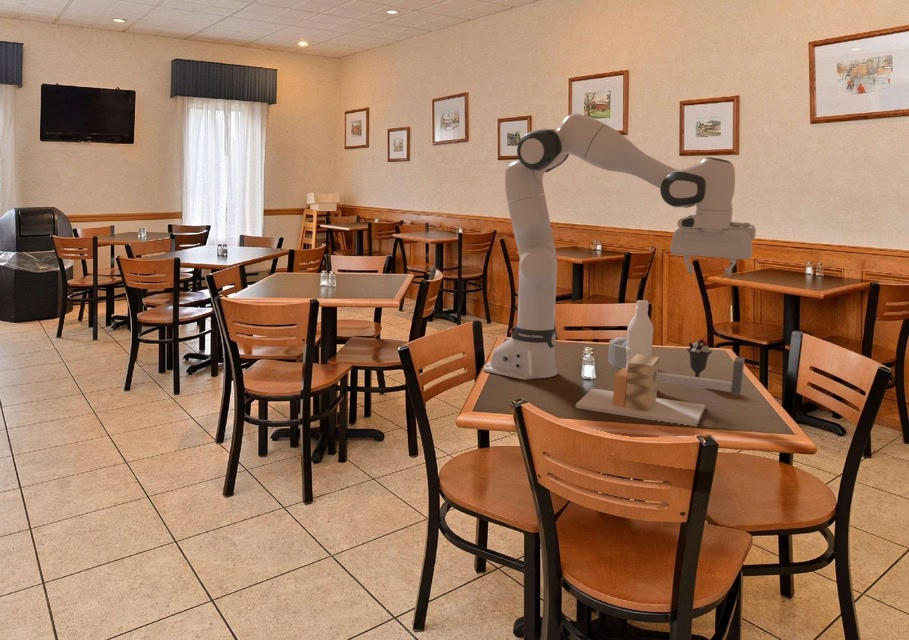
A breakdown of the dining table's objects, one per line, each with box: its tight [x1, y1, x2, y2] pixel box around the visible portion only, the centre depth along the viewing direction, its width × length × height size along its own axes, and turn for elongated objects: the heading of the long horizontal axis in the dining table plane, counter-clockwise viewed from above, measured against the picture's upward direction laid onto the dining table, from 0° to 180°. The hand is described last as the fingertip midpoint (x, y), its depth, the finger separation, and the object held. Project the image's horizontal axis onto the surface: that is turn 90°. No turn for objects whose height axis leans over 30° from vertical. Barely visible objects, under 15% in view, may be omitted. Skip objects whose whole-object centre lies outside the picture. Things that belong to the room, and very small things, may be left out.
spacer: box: [613, 368, 628, 407], centre depth 185 cm, size 3×8×8 cm, turn 154°
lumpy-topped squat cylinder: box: [607, 336, 627, 370], centre depth 226 cm, size 10×13×9 cm
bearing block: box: [625, 354, 660, 412], centre depth 183 cm, size 6×10×12 cm, turn 154°
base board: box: [575, 388, 706, 427], centre depth 184 cm, size 30×16×1 cm, turn 64°
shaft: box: [654, 356, 745, 395], centre depth 177 cm, size 24×5×8 cm, turn 64°
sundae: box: [686, 334, 712, 377], centre depth 206 cm, size 7×7×15 cm
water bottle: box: [626, 299, 654, 369], centre depth 201 cm, size 7×7×25 cm
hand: (708, 274), depth 188 cm, fingers open, 8 cm apart
